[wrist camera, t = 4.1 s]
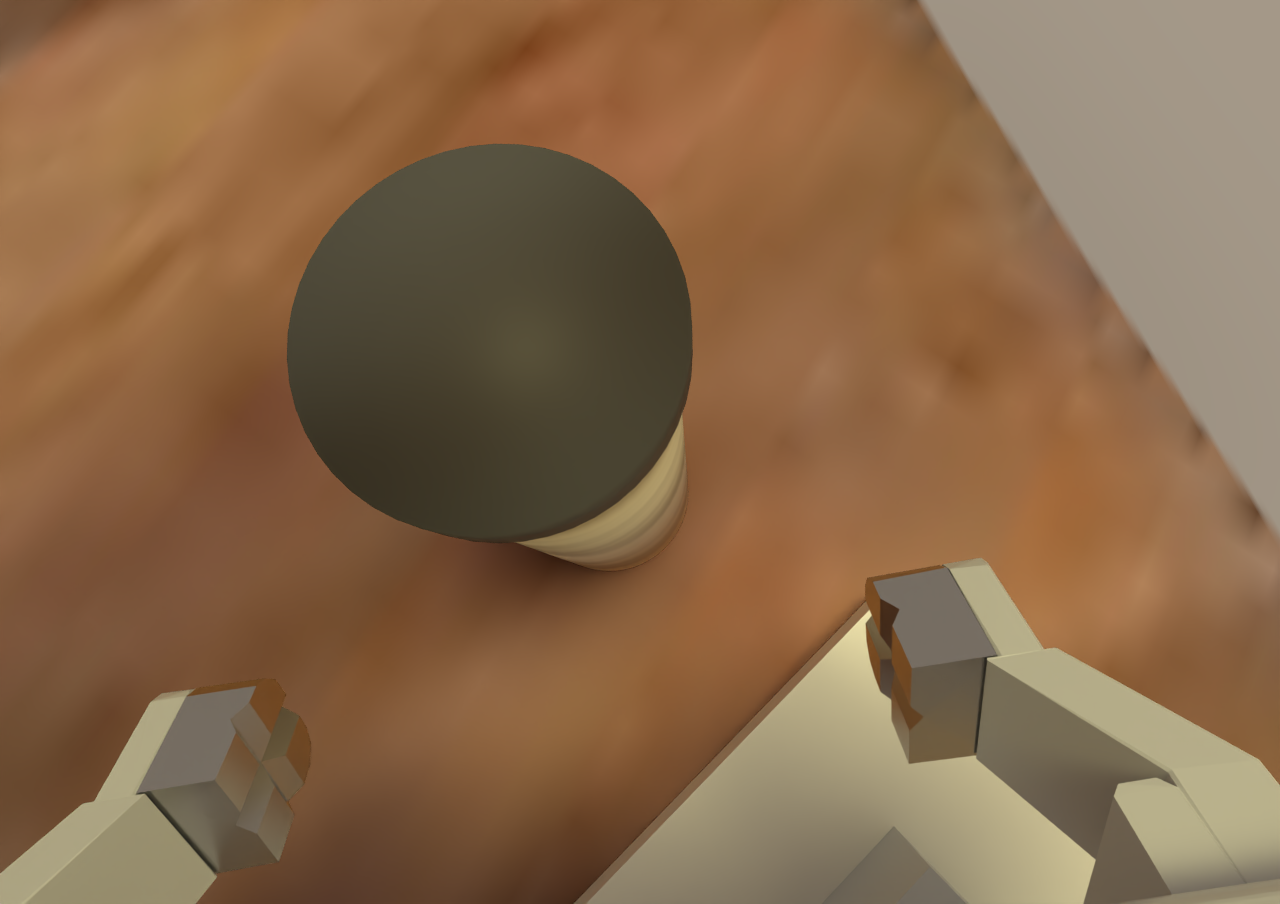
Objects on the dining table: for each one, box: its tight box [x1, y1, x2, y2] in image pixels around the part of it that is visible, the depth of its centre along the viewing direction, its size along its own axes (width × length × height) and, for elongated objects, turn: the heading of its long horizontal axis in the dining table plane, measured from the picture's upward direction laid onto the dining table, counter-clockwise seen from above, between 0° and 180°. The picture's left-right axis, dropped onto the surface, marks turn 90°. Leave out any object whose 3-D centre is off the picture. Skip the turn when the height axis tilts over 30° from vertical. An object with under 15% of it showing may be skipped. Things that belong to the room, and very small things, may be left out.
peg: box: [287, 144, 693, 571], centre depth 16 cm, size 5×5×13 cm
